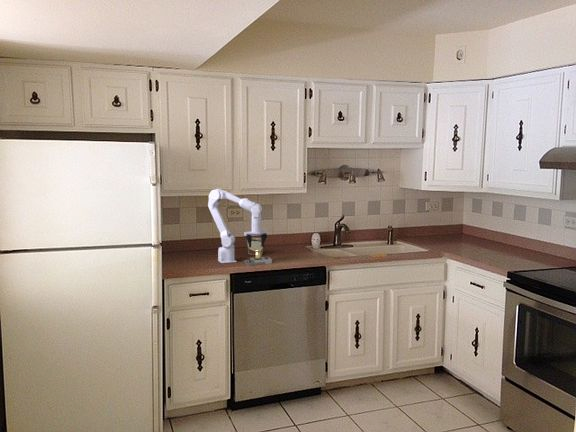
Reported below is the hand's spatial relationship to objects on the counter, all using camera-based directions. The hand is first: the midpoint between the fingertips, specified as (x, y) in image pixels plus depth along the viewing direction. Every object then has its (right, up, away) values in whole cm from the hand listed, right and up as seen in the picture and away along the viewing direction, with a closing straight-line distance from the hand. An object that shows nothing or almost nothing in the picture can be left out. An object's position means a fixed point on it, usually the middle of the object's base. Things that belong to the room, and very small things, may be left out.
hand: (256, 247), depth 306 cm
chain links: (+1, -9, 0) cm, 9 cm away
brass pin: (+1, -9, 0) cm, 9 cm away
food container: (-1, -6, +27) cm, 28 cm away
